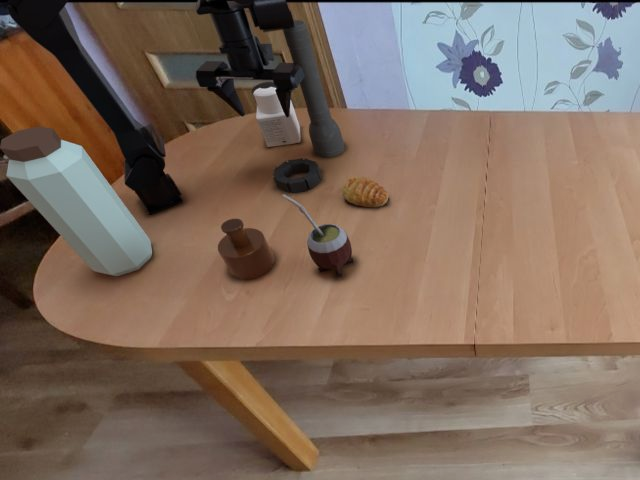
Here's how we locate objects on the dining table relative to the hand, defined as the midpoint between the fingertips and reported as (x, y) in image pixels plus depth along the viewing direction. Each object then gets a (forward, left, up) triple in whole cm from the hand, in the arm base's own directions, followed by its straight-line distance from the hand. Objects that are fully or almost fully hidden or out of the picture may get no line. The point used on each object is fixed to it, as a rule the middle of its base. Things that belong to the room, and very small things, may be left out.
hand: (265, 116), depth 96 cm
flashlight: (+12, +1, -13) cm, 18 cm away
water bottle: (-34, -9, -13) cm, 38 cm away
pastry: (+9, -21, -13) cm, 26 cm away
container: (+6, +13, -13) cm, 20 cm away
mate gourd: (-6, -35, -13) cm, 38 cm away
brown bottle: (-17, -25, -13) cm, 33 cm away
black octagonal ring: (+1, -6, -13) cm, 14 cm away
